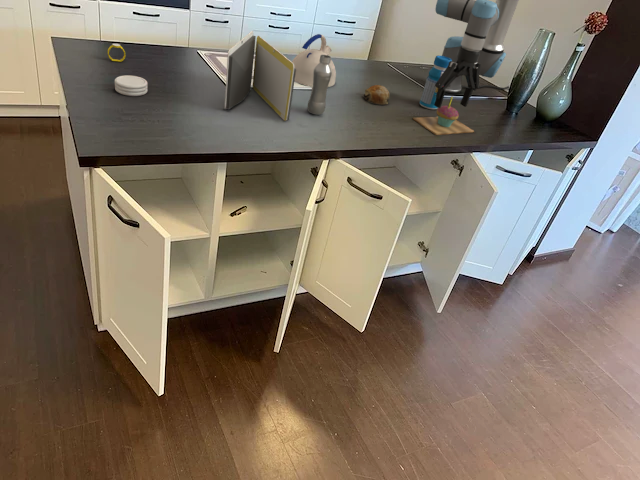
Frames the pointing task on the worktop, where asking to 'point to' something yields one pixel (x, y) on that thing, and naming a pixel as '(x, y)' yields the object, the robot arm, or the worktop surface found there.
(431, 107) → the beverage bottle
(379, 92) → the bread roll
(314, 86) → the plastic bottle
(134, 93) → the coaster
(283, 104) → the grey folded panel
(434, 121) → the light brown flat board
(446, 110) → the cupcake
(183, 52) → the worktop surface
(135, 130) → the worktop surface
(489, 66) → the robot arm
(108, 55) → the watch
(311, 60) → the kettle
